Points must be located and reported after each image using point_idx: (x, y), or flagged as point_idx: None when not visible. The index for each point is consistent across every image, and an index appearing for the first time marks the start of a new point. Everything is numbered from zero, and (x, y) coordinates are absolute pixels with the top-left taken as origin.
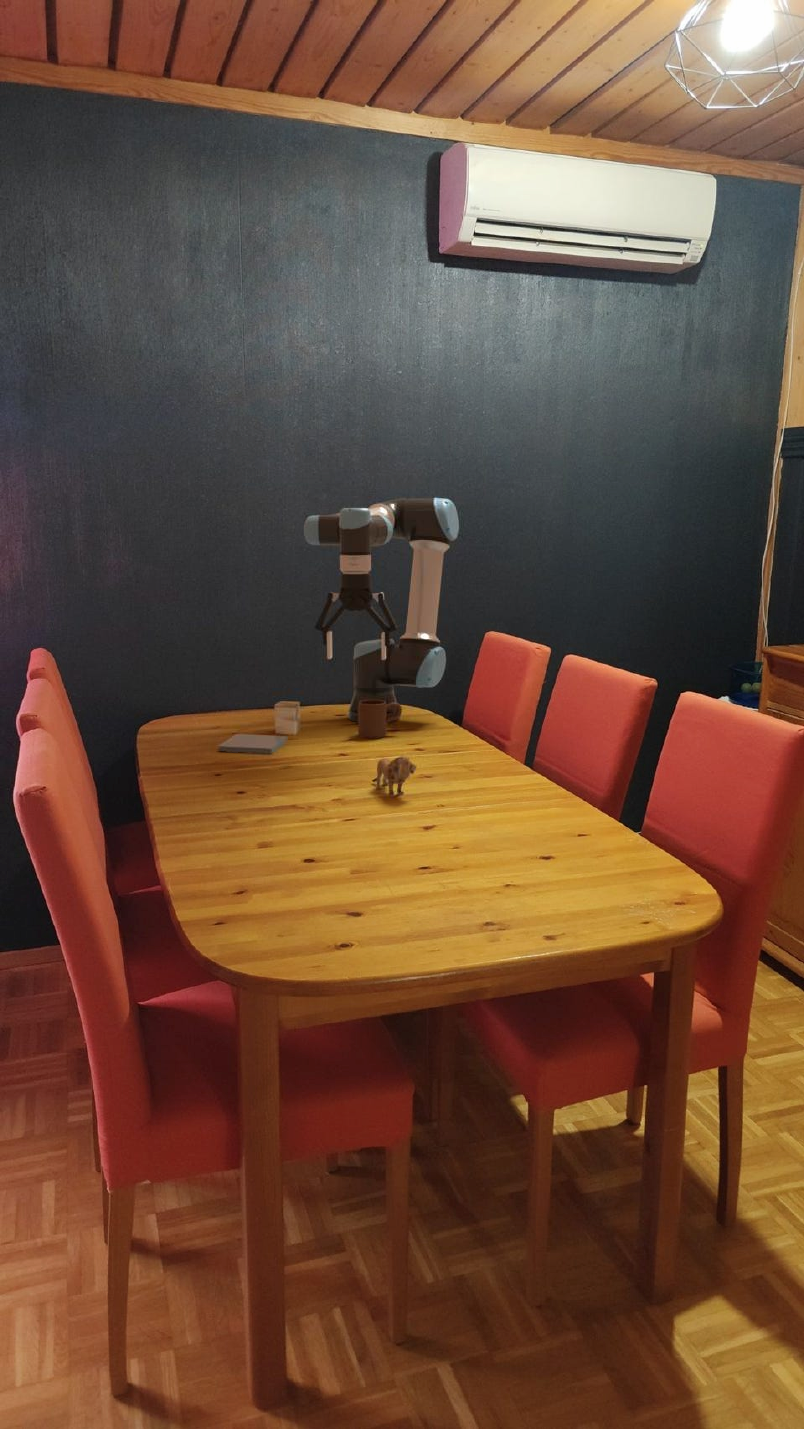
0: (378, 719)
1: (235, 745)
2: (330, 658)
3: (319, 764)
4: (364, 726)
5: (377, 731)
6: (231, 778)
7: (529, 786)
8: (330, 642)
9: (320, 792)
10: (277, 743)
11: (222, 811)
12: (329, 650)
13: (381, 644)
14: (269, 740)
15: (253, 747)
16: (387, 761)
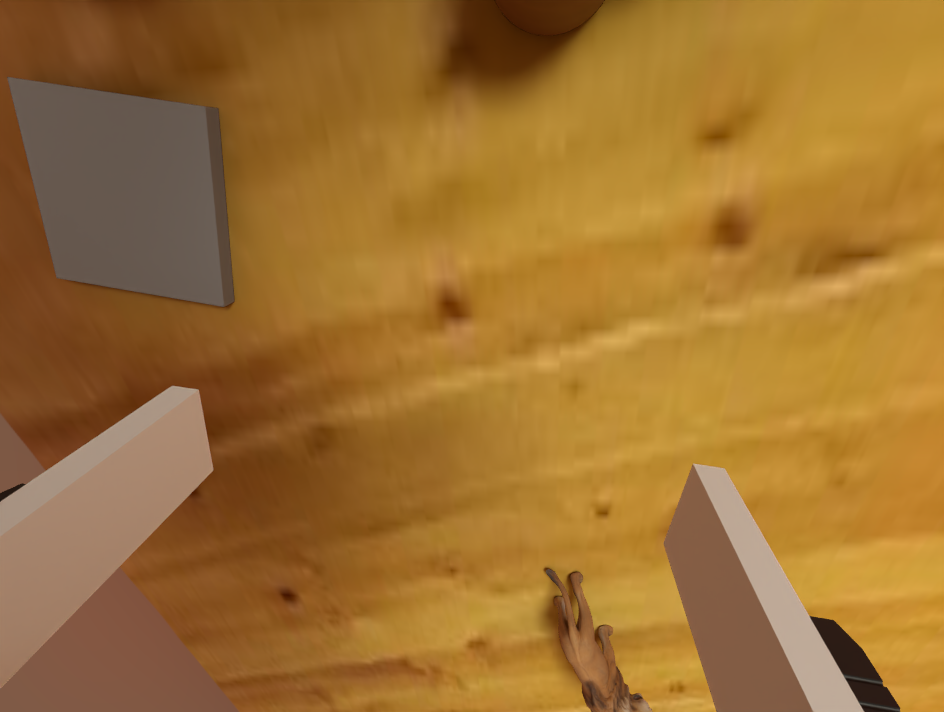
0: (588, 5)
1: (100, 267)
2: (210, 465)
3: (399, 413)
4: (514, 15)
5: (577, 23)
6: (230, 514)
7: (936, 610)
8: (87, 570)
9: (439, 607)
10: (215, 235)
11: (297, 672)
12: (154, 524)
13: (712, 695)
14: (171, 188)
15: (165, 293)
16: (585, 669)
